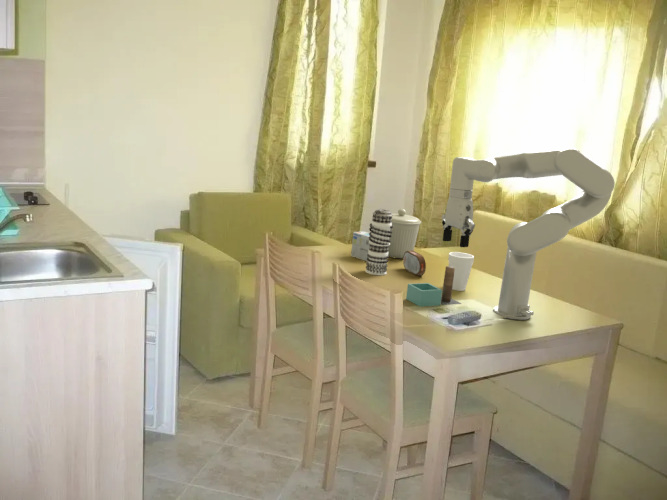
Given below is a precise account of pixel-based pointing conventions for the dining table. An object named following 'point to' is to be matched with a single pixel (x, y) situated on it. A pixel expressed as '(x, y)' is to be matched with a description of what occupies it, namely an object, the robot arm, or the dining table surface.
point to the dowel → (448, 284)
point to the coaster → (450, 302)
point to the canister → (403, 234)
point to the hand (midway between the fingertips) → (455, 243)
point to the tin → (414, 262)
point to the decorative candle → (379, 242)
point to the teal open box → (424, 294)
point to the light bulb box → (360, 245)
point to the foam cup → (460, 269)
